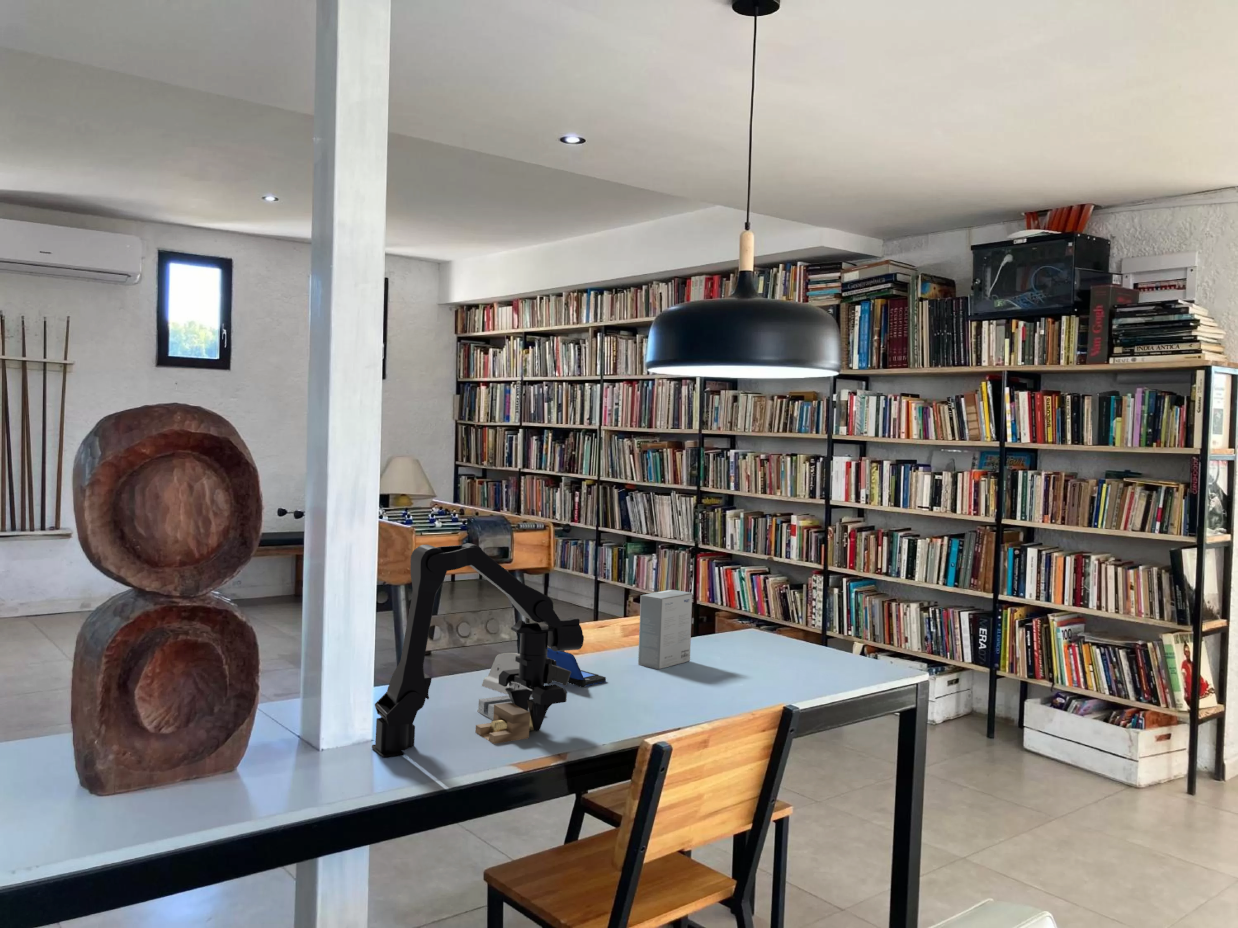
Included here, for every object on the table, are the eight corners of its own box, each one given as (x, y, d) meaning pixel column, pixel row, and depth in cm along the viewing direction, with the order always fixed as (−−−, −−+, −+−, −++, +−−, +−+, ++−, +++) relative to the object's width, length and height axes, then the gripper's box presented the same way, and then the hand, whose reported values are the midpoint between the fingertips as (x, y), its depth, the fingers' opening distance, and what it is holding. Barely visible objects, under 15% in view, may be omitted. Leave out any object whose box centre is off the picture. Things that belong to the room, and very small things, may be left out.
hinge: (480, 685, 229) (492, 645, 231) (494, 688, 232) (506, 650, 235) (525, 700, 218) (538, 658, 220) (539, 703, 221) (551, 662, 223)
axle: (497, 736, 186) (496, 721, 187) (490, 735, 189) (489, 720, 189) (539, 730, 192) (539, 715, 192) (532, 728, 194) (532, 714, 195)
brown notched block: (493, 747, 183) (495, 717, 183) (475, 735, 190) (476, 706, 189) (528, 741, 188) (530, 712, 188) (509, 730, 194) (511, 702, 194)
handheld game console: (608, 683, 239) (609, 647, 238) (571, 691, 229) (573, 654, 229) (565, 670, 249) (567, 636, 249) (528, 678, 239) (530, 642, 239)
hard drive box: (669, 656, 271) (672, 589, 271) (690, 661, 266) (694, 592, 266) (636, 664, 259) (640, 593, 259) (658, 669, 254) (662, 597, 254)
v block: (494, 724, 198) (495, 707, 198) (477, 714, 204) (478, 698, 204) (542, 717, 205) (543, 701, 205) (524, 708, 211) (525, 692, 211)
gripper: (590, 658, 189) (586, 734, 189) (543, 640, 204) (540, 710, 205) (543, 663, 183) (539, 742, 183) (499, 644, 198) (495, 717, 198)
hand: (529, 727), depth 192 cm, fingers open, 5 cm apart
